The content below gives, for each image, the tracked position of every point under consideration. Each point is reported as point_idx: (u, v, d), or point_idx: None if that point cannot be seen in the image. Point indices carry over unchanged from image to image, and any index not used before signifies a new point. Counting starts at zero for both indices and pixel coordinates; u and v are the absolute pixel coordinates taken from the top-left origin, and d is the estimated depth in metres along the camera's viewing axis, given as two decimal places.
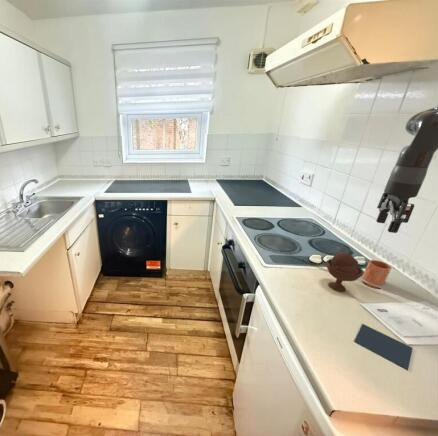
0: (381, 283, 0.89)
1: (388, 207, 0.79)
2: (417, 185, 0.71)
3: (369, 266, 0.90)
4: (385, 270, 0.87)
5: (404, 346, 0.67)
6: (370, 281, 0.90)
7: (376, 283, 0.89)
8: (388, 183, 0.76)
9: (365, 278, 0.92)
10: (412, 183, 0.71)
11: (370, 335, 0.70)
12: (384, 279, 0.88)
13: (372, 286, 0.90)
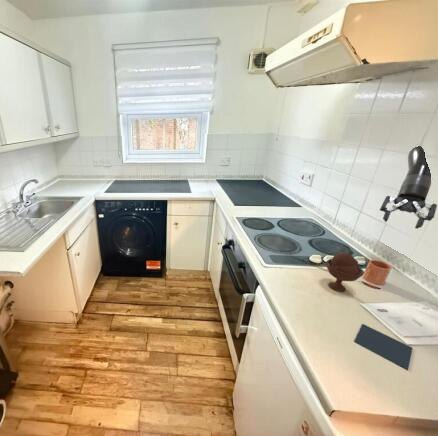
0: (381, 283, 0.89)
1: None
2: (403, 186, 0.94)
3: (369, 266, 0.90)
4: (385, 270, 0.87)
5: (404, 346, 0.67)
6: (370, 281, 0.90)
7: (376, 283, 0.89)
8: None
9: (365, 278, 0.92)
10: (401, 186, 0.95)
11: (370, 335, 0.70)
12: (384, 279, 0.88)
13: (372, 286, 0.90)
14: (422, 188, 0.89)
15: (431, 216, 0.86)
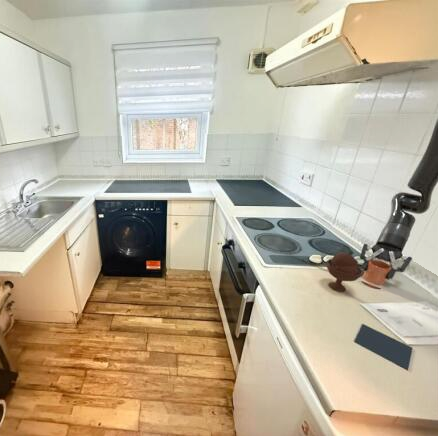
0: (381, 283, 0.89)
1: None
2: (381, 234, 0.93)
3: (369, 266, 0.90)
4: (385, 270, 0.87)
5: (404, 346, 0.67)
6: (370, 281, 0.90)
7: (376, 283, 0.89)
8: None
9: (365, 278, 0.92)
10: (380, 234, 0.94)
11: (370, 335, 0.70)
12: (384, 279, 0.88)
13: (372, 286, 0.90)
14: (399, 238, 0.88)
15: (402, 268, 0.85)
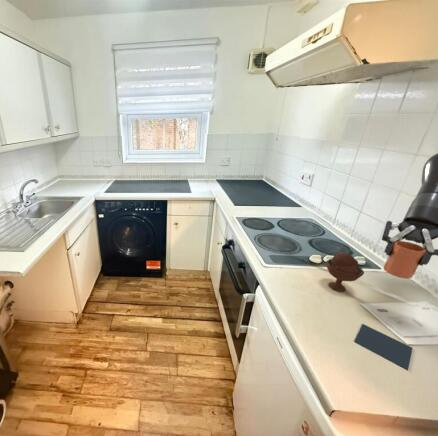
0: (411, 271, 0.67)
1: None
2: (410, 207, 0.72)
3: (395, 249, 0.69)
4: (418, 253, 0.65)
5: (404, 346, 0.67)
6: (396, 268, 0.69)
7: (405, 271, 0.68)
8: None
9: (389, 265, 0.71)
10: None
11: (370, 335, 0.70)
12: (416, 265, 0.67)
13: (399, 275, 0.69)
14: (436, 211, 0.67)
15: None
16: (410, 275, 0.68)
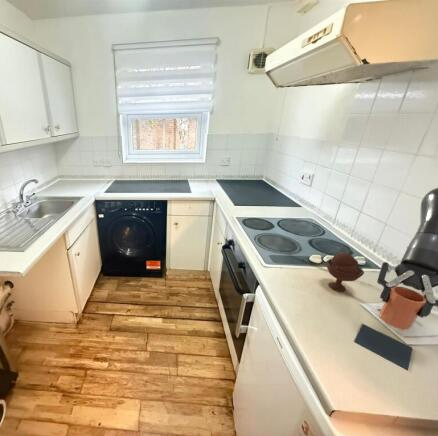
0: (410, 322, 0.60)
1: None
2: (409, 249, 0.65)
3: (392, 296, 0.62)
4: (417, 304, 0.58)
5: (404, 346, 0.67)
6: (393, 318, 0.62)
7: (402, 322, 0.61)
8: None
9: (385, 313, 0.64)
10: (407, 248, 0.66)
11: (370, 335, 0.70)
12: (415, 316, 0.60)
13: (396, 325, 0.62)
14: (437, 256, 0.60)
15: None
16: (408, 326, 0.61)
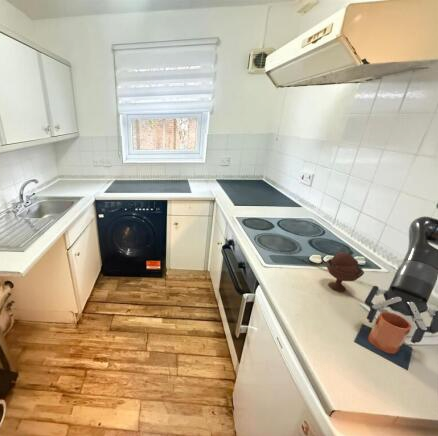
0: (396, 347, 0.64)
1: None
2: (397, 275, 0.68)
3: (379, 322, 0.65)
4: (403, 331, 0.62)
5: (404, 346, 0.67)
6: (381, 342, 0.65)
7: (389, 346, 0.64)
8: None
9: (374, 337, 0.67)
10: (395, 274, 0.69)
11: None
12: (401, 342, 0.63)
13: (384, 349, 0.65)
14: (423, 284, 0.63)
15: (434, 329, 0.60)
16: (395, 350, 0.64)
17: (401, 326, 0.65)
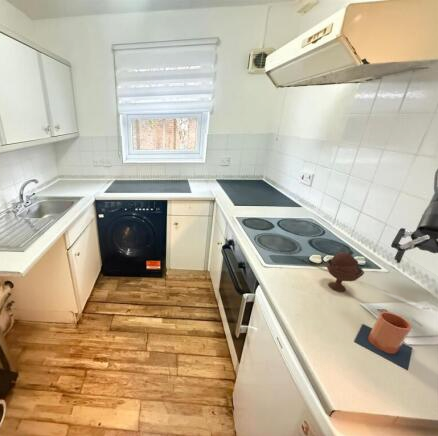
0: (396, 347, 0.64)
1: None
2: (424, 216, 0.69)
3: (379, 322, 0.65)
4: (403, 331, 0.62)
5: (404, 346, 0.67)
6: (381, 342, 0.65)
7: (389, 346, 0.64)
8: None
9: (374, 337, 0.67)
10: (422, 216, 0.70)
11: None
12: (401, 342, 0.63)
13: (384, 349, 0.65)
14: None
15: None
16: (395, 350, 0.64)
17: (401, 326, 0.65)
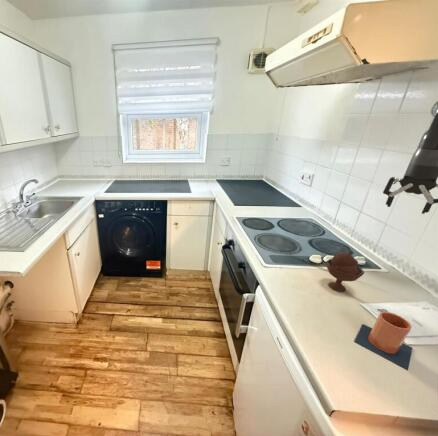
0: (396, 347, 0.64)
1: None
2: (409, 164, 0.79)
3: (379, 322, 0.65)
4: (403, 331, 0.62)
5: (404, 346, 0.67)
6: (381, 342, 0.65)
7: (389, 346, 0.64)
8: None
9: (374, 337, 0.67)
10: None
11: None
12: (401, 342, 0.63)
13: (384, 349, 0.65)
14: (431, 169, 0.74)
15: None
16: (395, 350, 0.64)
17: (401, 326, 0.65)
